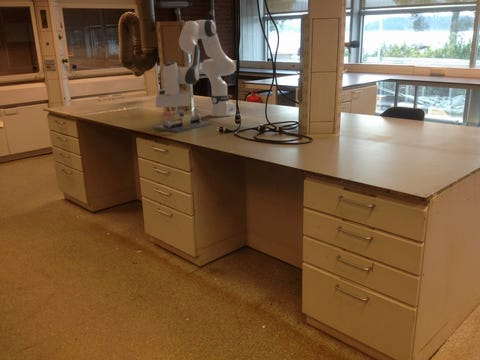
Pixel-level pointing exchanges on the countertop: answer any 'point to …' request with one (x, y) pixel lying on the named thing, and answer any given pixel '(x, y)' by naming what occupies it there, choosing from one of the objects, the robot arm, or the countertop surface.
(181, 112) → the lever
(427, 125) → the countertop surface
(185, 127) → the valve assembly
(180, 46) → the robot arm
